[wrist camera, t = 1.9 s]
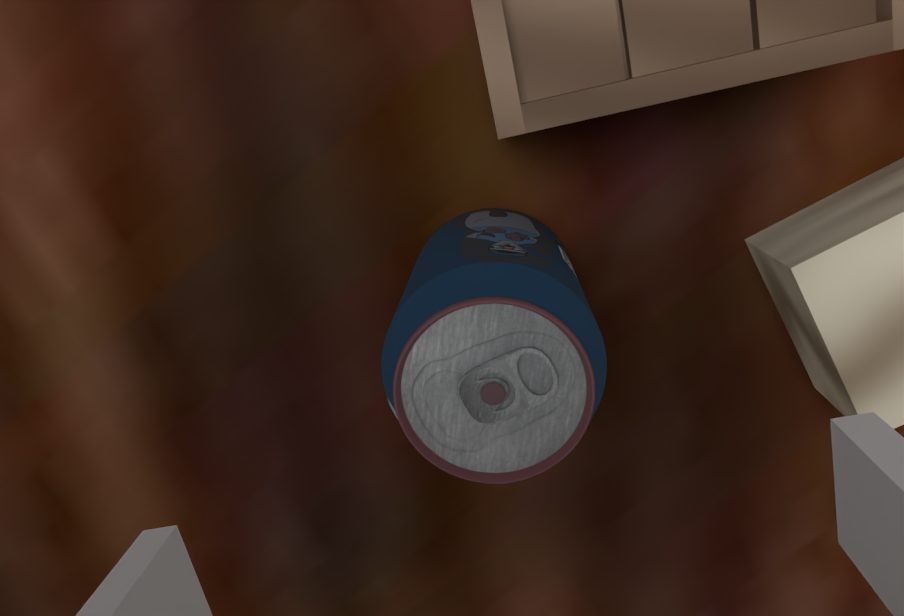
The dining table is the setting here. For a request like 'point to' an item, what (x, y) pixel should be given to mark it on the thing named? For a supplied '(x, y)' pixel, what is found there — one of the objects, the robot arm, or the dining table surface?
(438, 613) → the dining table surface
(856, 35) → the wooden crate
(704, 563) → the dining table surface
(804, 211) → the beech block
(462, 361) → the soda can
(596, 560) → the dining table surface
